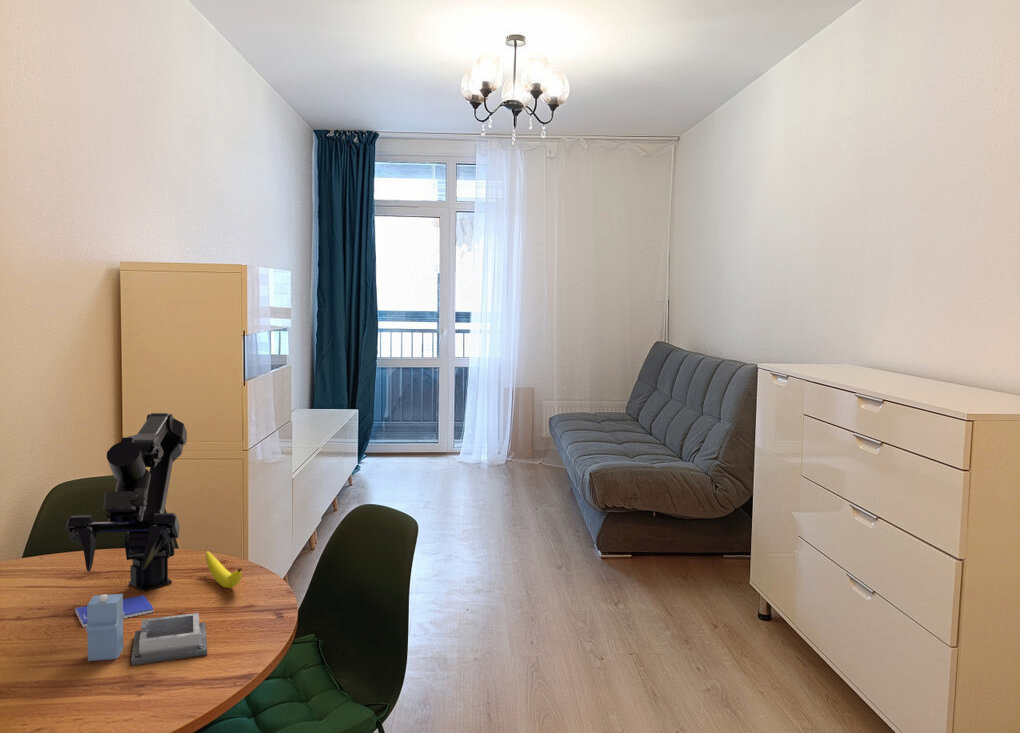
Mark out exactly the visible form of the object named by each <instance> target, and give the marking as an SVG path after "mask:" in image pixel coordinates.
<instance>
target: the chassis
mask: <svg viewBox="0 0 1020 733" xmlns="http://www.w3.org/2000/svg"><path fill="white" fill-rule="evenodd" d="M199 614H200V612H195V613H186V614H185V613H184V614H178V615H169V616H162V617H160V616H159V617H153V618H145V619H141V624H140V626H141V627H140V630H135V631H134V638H133V644H132V652H131V660H130V661H131V663H130V666H132V667H133V666H137V665H144V664H145V665H146V664H151V663H159V662H160V663H161V662H167V661H174V660H175V661H176V660H180V659H187V658H188V659H189V658H196V657H202V656H203V657H204V656H208V642H207V628H206V627H207V626H206V625H207V624H206V622H205V621H203V622H200V615H199Z"/></svg>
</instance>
